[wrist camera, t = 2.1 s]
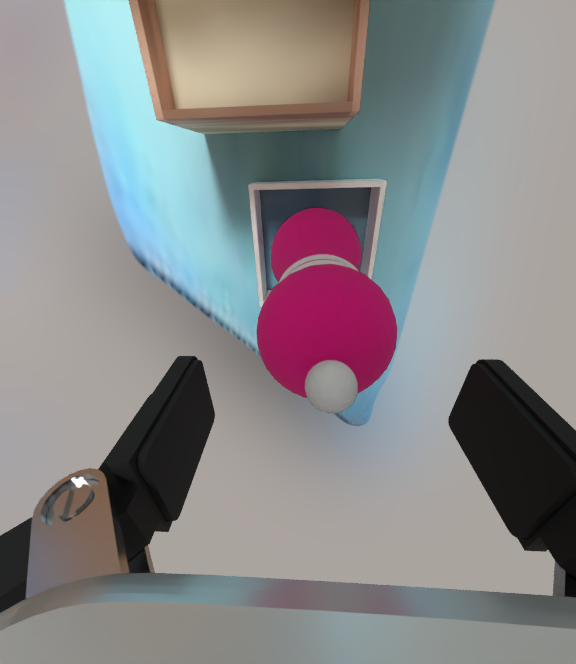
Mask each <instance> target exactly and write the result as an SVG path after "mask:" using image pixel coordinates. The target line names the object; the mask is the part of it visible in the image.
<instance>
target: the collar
mask: <svg viewBox="0 0 576 664" xmlns="http://www.w3.org/2000/svg"><path fill="white" fill-rule="evenodd" d="M386 185H387V180H382V179H347V180H311V181H275V182H253V183H250V184H248V190H249V200H250V211H251V221H252V232H253V242H254V253H255V263H256V274H257V284H258V295H259V305H260V306H263V303H264V302H265V300H266V298H267V297H268V295H269V294H270V292H271V291H272V290H267V283H266V270H265V257H264V243H263V230H262V217H261V203H260V190H278V189H316V188H355V187H372V188H371V195H370V203H369V211H368V219H367V227H366V234H365V242H364V250H363V258H362V266H361V273H363V274H365V275H367V276H368V277H369V278H370V279H371V280H372V275H373V269H374V262H375V256H376V249H377V243H378V236H379V230H380V223H381V217H382V210H383V204H384V198H385V191H386Z"/></svg>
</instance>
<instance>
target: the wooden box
mask: <svg viewBox="0 0 576 664" xmlns="http://www.w3.org/2000/svg"><path fill="white" fill-rule="evenodd" d="M129 4H130V8H131V12H132V16H133V21H134V25H135V29H136V34H137V38H138V42H139V47H140V51H141V55H142V59H143V64H144V68H145V72H146V77H147V81H148V85H149V89H150V94H151V98H152V102H153V107H154V111H155V115H156V120H159V121H162V122H165V123H169V124H172V125H175V126H179V127H182V128H185V129H189V130H192V131H195V132H199V133H202V134H222V133H248V132H274V131H300V130H326V129H341V128H343V127H344V126H345V125H346V124H347V123H348V122H349V121H350V120H351V119H352V118H353V117H354V116H355V115H356V114H357V113H358V112H359V111H360V102H361V92H362V81H363V70H364V60H365V49H366V38H367V28H368V17H369V6H370V0H129Z"/></svg>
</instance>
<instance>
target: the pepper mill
mask: <svg viewBox="0 0 576 664" xmlns="http://www.w3.org/2000/svg"><path fill="white" fill-rule="evenodd" d="M360 263H361V246H360V242H359V239H358V236H357V233H356V231H355V229H354V228H353V226H352V225H351V224H350V222H349V221H348V220H347V219H346V218H345V217H343V216H342V215H341V214H339V213H337V212H335V211H332V210H329V209H326V208H308V209H304V210H302V211H300V212H297V213H296V214H294V215H292V216H291V217H289V218H288V219H287V220H286V221H285V222H284V223H283V224H282V225H281V226H280V228H279V229H278V231H277V233H276V235H275V237H274V240H273V244H272V249H271V264H272V270H273V272H274V275H275V277H276V279H277V281H278V282H279V283H278V284H277V285H276V286H275V287H274V288H273V289H272V291H271V292H270V294H269V295H268V297H267V298H266V300H265V302H264V303H263V306H262V309H261V312H260V315H259V317H258V325H257V344H258V348H259V351H260V355H261V358H262V360H263V362H264V364H265V366H266V368H267V370H268V371H269V372H270V373H271V375H272V376H273V377H274V378H275V379H276V380H277V381H278V382H279V383H280V384H281V385H282V386H284V387H285V388H287V389H288V390H290V391H292V392H293V393H295V394H298V395H300V396H302V397H305V398H308V399H309V401H310V402H311V404H312V405H313V406H315V407H316V408H317V409H319V410H320V411H324V412H327V413H338V412H341V411H344V410H345V409H347V408H348V407H349V406H350V405H351V404H352V403H353V402H354V400H355V398H356V396H357V393H359V392H361V391H363V390H364V389H366V388H368V387H369V386H370V385H372V384H373V383H374V382H375V381H376V380H377V379H379V378H380V376H381V375H382V374H383V373H384V371H385V370H386V369H387V367H388V365H389V363H390V361H391V359H392V357H393V354H394V351H395V348H396V340H397V325H396V319H395V316H394V313H393V310H392V307H391V305H390V302H389V299H388V298H387V297H386V295H385V294H384V293H383V291H382V290H381V288H380V287H379V286H378V285H377V284H376V283H374V282H373V281H372V280H371V279H370V278H369V277H368V276H367V275H365V274H363V273H361V272H359V271H358V270H359V267H360Z"/></svg>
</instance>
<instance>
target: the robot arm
mask: <svg viewBox="0 0 576 664" xmlns="http://www.w3.org/2000/svg"><path fill="white" fill-rule="evenodd" d="M214 417H215V412H214V408H213V404H212V400H211V396H210V392H209V388H208V384H207V379H206V375H205V372H204V367H203V363H202V361H200V360H198V359H197V358H196V357H195V356H179V357H177V358H176V360H175V361H174V363H173V364H172V366H171V367H170V369H169V370H168V372H167V373H166V374H165V376H164V377H163V379H162V380H161V382H160V383H159V385H158V386H157V387H156V389H155V391H154V392H153V393H152V394H151V395H150V396H149V397H148V398H147V400H146V401H145V403H144V404H143V406H142V407H141V409H140V410H139V411H138V413H137V414H136V416H135V417H134V419H133V420H132V421H131V423H130V424H129V426H128V427H127V429H126V430H125V432H124V433H123V434H122V436H121V437H120V439H119V440H118V442H117V443H116V445H115V446H114V447H113V449H112V450H111V452H110V453H109V455H108V456H107V457H106V459H105V460H104V462H103V463H102V465H101V466H100V468H99V469H92V468H89V469H83V470H79V471H77V472H75V473H72V474H69V475H68V476H66V477H64V478H63V479H61V480H60V481H58V482H57V483H56V484H55V485H54V486H52V487H51V488H50V489H49V490H48V491H47V492H46V493H45V494H44V496H43V497H42V498H41V499H40V501H39V503H38V504H37V506H36V507H35V510H34V513H33V517H32V518H30V519H28V520H26V521H25V522H23V523H21V524H19V525H18V526H16V527H14V528H13V529H11V530H9V531H8V532H6V533H4V534H3V535H1V536H0V664H576V430H574V429H573V428H572V427H571V426H570V425H569V424H568V423H567V422H566V421H565V420H564V419H563V418H562V417H561V416H560V415H559V414H558V413H556V411H554V410H553V409H552V408H551V407H550V406H549V405H548V404H547V403H546V402H545V401H544V400H543V399H542V398H541V397H540V396H539V395H538V394H537V393H536V392H535V391H534V390H532V389H531V388H530V387H529V386H528V385H527V384H526V383H525V382H524V381H523V380H522V379H521V378H520V377H519V376H518V375H517V374H516V373H515V372H514V371H513V370H511V369H510V368H509V367H508V366H507V365H506V364H505V363H504V362H503V361H501V360H478V361H477V362H476V364H473V365H472V366H471V368H470V370H469V372H468V375H467V377H466V379H465V382H464V384H463V386H462V388H461V391H460V393H459V395H458V398H457V400H456V402H455V404H454V407H453V409H452V411H451V414H450V416H449V426H450V428H451V430H452V432H453V434H454V436H455V437H456V439H457V441H458V442H459V444H460V446H461V448H462V450H463V451H464V453H465V455H466V457H467V458H468V460H469V462H470V464H471V465H472V467H473V469H474V471H475V472H476V474H477V476H478V478H479V479H480V481H481V483H482V485H483V486H484V488H485V490H486V492H487V493H488V495H489V497H490V499H491V500H492V502H493V504H494V506H495V507H496V509H497V511H498V513H499V514H500V516H501V518H502V520H503V522H504V523H505V525H506V527H507V528H508V530H509V531H510V533H511V534H512V535H513V536H515V537H517V538H518V540H519V542H520V543H521V545H522V547H523V548H524V550H527V551H547V550H549V551H550V553H551V554H552V556H553V558H554V559H555V567H554V569H555V570H554V584H553V596H546V595H531V594H515V593H501V592H485V591H471V590H455V589H439V588H424V587H407V586H391V585H375V584H358V583H342V582H325V581H308V580H290V579H271V578H255V577H236V576H217V575H193V574H165V573H155V571H154V568H153V563H152V559H151V555H150V551H149V547H148V544H150V541H151V539H152V536H153V534H154V532H155V531H161V532H168V531H169V529H170V526H171V524H172V521H175V520H177V519H178V517H179V516H180V513H181V510H182V508H183V505H184V502H185V499H186V497H187V494H188V491H189V488H190V486H191V483H192V480H193V477H194V475H195V472H196V469H197V466H198V463H199V461H200V458H201V455H202V453H203V450H204V447H205V444H206V441H207V439H208V436H209V433H210V430H211V428H212V425H213V422H214Z"/></svg>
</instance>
